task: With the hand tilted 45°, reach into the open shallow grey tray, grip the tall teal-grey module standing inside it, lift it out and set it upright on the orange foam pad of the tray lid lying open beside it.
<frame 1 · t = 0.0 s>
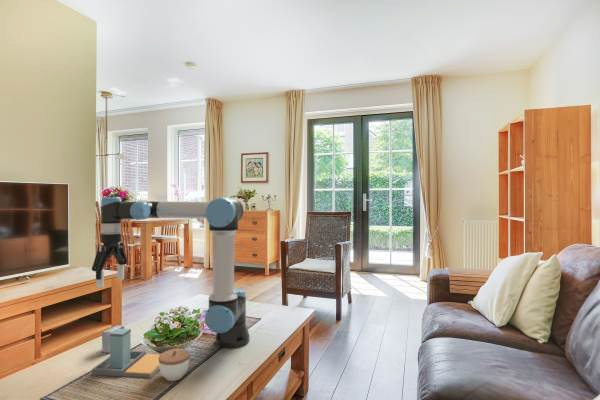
hand: (110, 283, 145), 28 cm above the table, tool pointing down, fingers open, 13 cm apart
module: (120, 365, 131), resting in shallow grey tray
lidded jar: (174, 376, 123), on the table
medicine box: (113, 349, 145), on the table
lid: (148, 366, 130), on the table
shallow grey tray: (120, 364, 131), on the table
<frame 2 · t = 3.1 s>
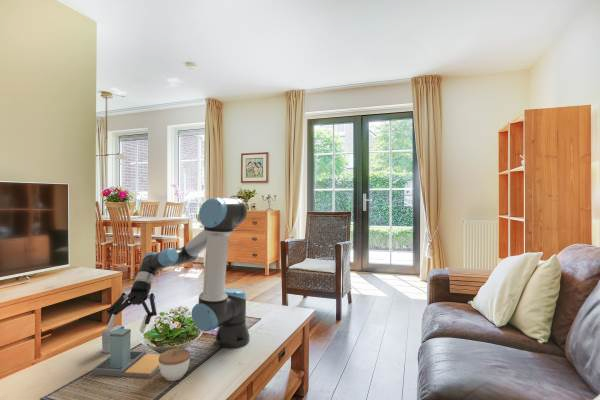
hand: (124, 331, 137), 11 cm above the table, tool tilted 45°, fingers open, 13 cm apart
nothing on the table moved.
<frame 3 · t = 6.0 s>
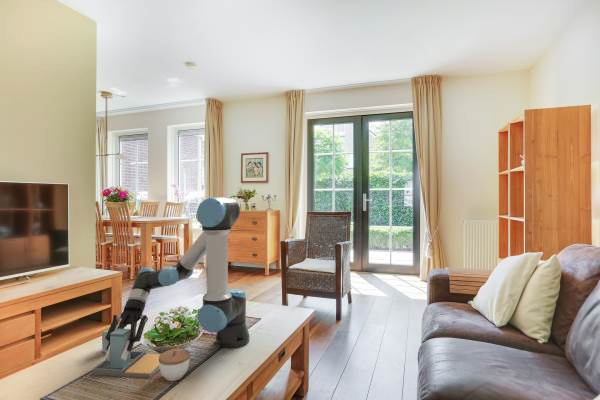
hand: (115, 359, 127), 4 cm above the table, tool tilted 45°, fingers closed on module, 5 cm apart
module: (120, 365, 131), resting in shallow grey tray, touching gripper
everything else where it was.
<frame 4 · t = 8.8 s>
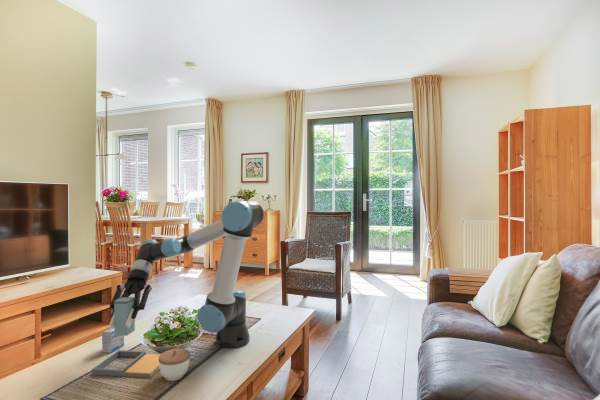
hand: (119, 326, 127), 16 cm above the table, tool tilted 45°, fingers closed on module, 5 cm apart
module: (124, 332, 131), point 12 cm above the table, touching gripper
everything else where it was.
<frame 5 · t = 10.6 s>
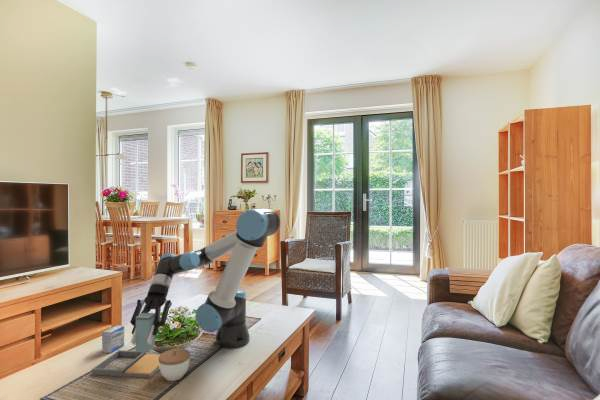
hand: (140, 343, 126), 10 cm above the table, tool tilted 45°, fingers closed on module, 5 cm apart
module: (145, 349, 130), point 6 cm above the table, touching gripper
everything else where it was.
when the fingers open (7 cm above the table, at t = 11.9 s): module drops 2 cm, resting on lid.
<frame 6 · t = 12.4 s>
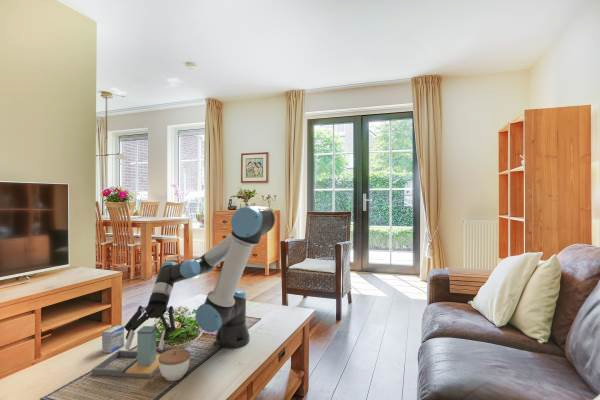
hand: (143, 348, 127), 8 cm above the table, tool tilted 45°, fingers open, 12 cm apart
module: (146, 362, 130), point 1 cm above the table, touching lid
everything else where it was.
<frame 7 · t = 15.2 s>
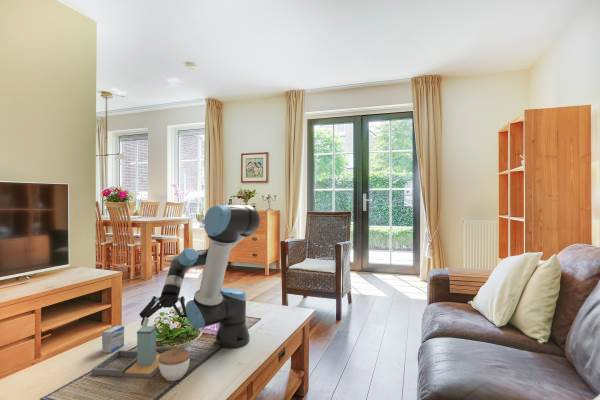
hand: (158, 333, 141), 8 cm above the table, tool tilted 45°, fingers open, 13 cm apart
nothing on the table moved.
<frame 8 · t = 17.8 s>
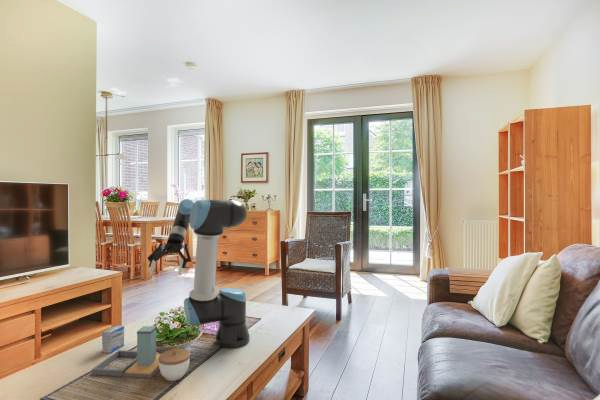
hand: (164, 273, 156), 30 cm above the table, tool tilted 45°, fingers open, 13 cm apart
nothing on the table moved.
at the end: module inside the target area (0.5 cm from its centre), point 1.3 cm above the table; module tilted 0°; the gripper is holding nothing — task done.
